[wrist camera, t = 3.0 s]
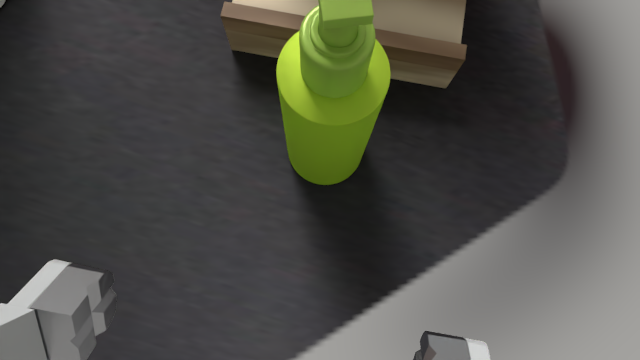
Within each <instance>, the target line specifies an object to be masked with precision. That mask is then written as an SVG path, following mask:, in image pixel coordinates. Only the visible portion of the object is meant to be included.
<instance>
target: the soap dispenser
mask: <svg viewBox="0 0 640 360" xmlns="http://www.w3.org/2000/svg"><path fill="white" fill-rule="evenodd" d="M318 3H319V5H318V6H316V7H314V8H313V9H312V10H310V11H309V12H308V14H307V15H306V16H305V18H304V19H303V21H302V24H301V27H300V31H298V32H297V33H295V34H294V35H293V36H292V37H291V38H290V39H289V40H288V41H287V43H286V44H285V45H284V47H283V49H282V51H281V53H280V55H279V58H278V61H277V67H276V78H277V85H278V91H279V98H280V104H281V110H282V117H283V123H284V130H285V136H286V143H287V149H288V155H289V159H290V162H291V164H292V166H293V168H294V169H295V171H296V172H297V173H298V174H299V175H300V176H301V177H303V178H304V179H306V180H307V181H309V182H312V183H315V184H320V185H331V184H336V183H339V182H341V181H343V180H345V179H347V178H348V177H349V176H351V175H352V174H353V173H354V171H355V170H356V169H357V167H358V165H359V163H360V161H361V158H362V156H363V153H364V151H365V148H366V145H367V143H368V140H369V138H370V135H371V133H372V130H373V127H374V125H375V122H376V120H377V117H378V114H379V112H380V109H381V107H382V104H383V102H384V99H385V96H386V94H387V91H388V88H389V84H390V76H391V73H390V64H389V61H388V57H387V55H386V53H385V51H384V49H383V47H382V46H381V44H380V43H379V42H378V41H377V40H376V39H375V28H374V25H373V23H372V21H373V17H374V13H373V6H372V0H318Z"/></svg>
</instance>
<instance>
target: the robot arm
mask: <svg viewBox="0 0 640 360" xmlns="http://www.w3.org/2000/svg"><path fill="white" fill-rule="evenodd" d="M5 1H6V0H0V8H1V7H2V5H3V4H4V2H5ZM113 283H114V276H113V272H111V271H108V270H103V269H99V268H94V267H90V266H85V265H81V264H76V263H70V262H65V261H61V260H56V259H54V260H51V261H49V262H47V263H46V264H45V265H44V266H43V268H42V269H41V270H40V271H39V272H38V273H37V274H36V275H35V276H34V277H33V278H32V279H31V280H30V281H29V282H28V283H27V284H26V285H25V286H24V287H23V288H22V289H21V290H20V291H19V292H18V293H17V294H16V295H15V297H14V298H13V299H12V300H11V301H10V302H9V303H8V304H3V303H1V304H0V360H86V359H87V358H88V356H89V355H90V353H91V352H92V350H93V349H94V347H95V346H96V338H95V336H96V335H98V334H100V333H102V332H104V331H105V330H106V329H107V328H108V326H109V325H110V323H111V321H112V319H113V316H114V314H115V311H116V305H117V297H116V294H115V292H114V291H113V290H112V289H111V288H110V287H111V286H112V285H113ZM420 345H421V350H419V351H417V352H416V353H415V356H414V359H413V360H491V358H490V354H489V350H488V346H487V344H486V343H485V342H483V341H478V340H472V339H467V338H462V337H457V336H451V335H446V334H440V333H435V332H429V331H425V332H424V333H423V335H422V337H421V340H420Z"/></svg>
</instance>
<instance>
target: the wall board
mask: <svg viewBox="0 0 640 360" xmlns="http://www.w3.org/2000/svg"><path fill="white" fill-rule="evenodd" d="M318 5H319V3H318V0H233V2H232V3H230V2H224V5H223V9H222V12H221V19H222V22H223V25H224V28H225V31H226V34H227V37H228V40H229V43H230V46H231V50H236V51H242V52H247V53H253V54H258V55H264V56H269V57H275V58H279V55H280V53H281V51H282V49H283V47H284V45H285V44H286V43H287V41H288V40H289V39H290V38H291V37H292V36H293V35H294V34H295V33H297V32H298V31H300V27H301V24H302V21H303V19H304V18H305V16H306V15H307V14H308V12H309V11H310V10H312V9H313V8H314V7H316V6H318ZM372 6H373V13H374V17H373V21H372V23H373V25H374V28H375V39H376V40H377V41H378V42H379V43H380V44H381V46H382V47H383V49H384V51H385V53H386V55H387V57H388V61H389V64H390V73H391V76H390V79H396V80H401V81H407V82H412V83H418V84H423V85H429V86H434V87H440V88H445V89H446V88H447V86H448V85H449V83H450V82H451V80H452V79H453V77H454V76H455V74H456V73H457V71H458V70H459V68H460V67H461V65H462V64H463V62H464V61H465V57H466V49H467V45H464V44H461V38H462V30H463V22H464V14H465V6H466V0H372Z"/></svg>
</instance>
